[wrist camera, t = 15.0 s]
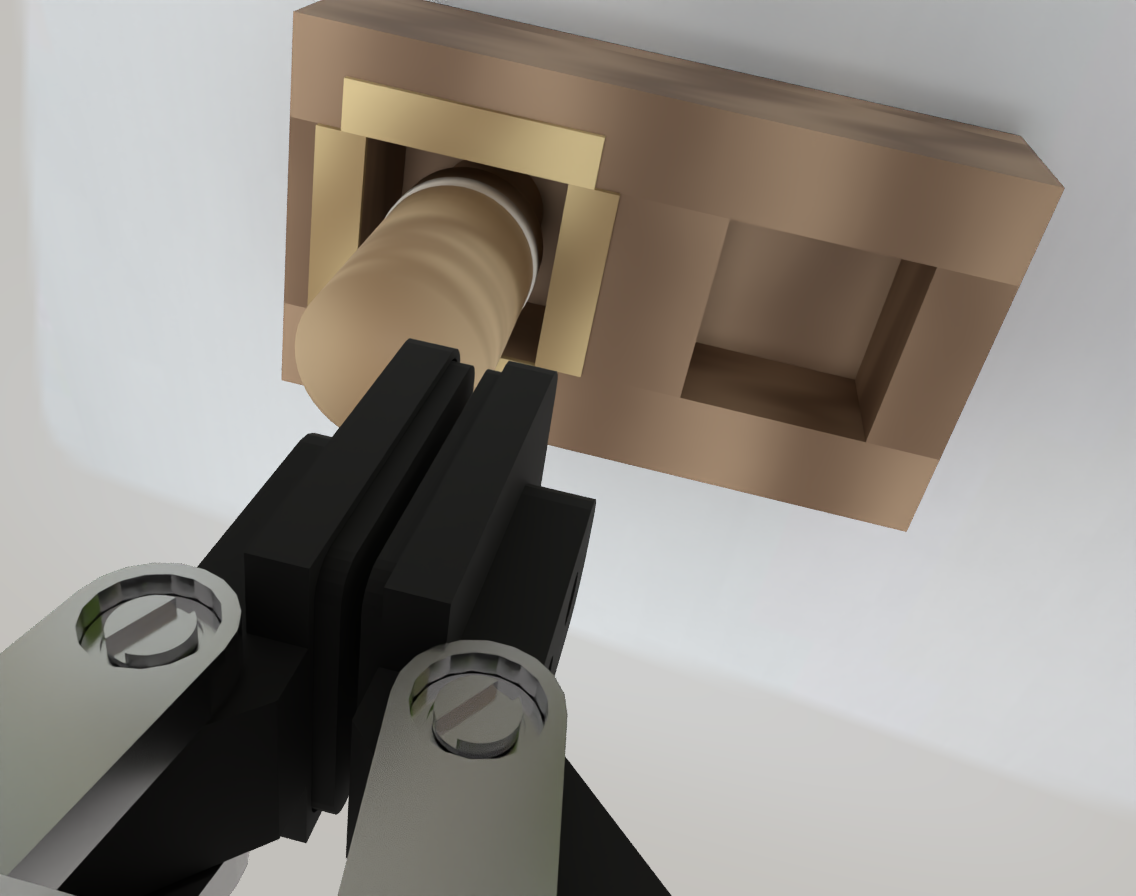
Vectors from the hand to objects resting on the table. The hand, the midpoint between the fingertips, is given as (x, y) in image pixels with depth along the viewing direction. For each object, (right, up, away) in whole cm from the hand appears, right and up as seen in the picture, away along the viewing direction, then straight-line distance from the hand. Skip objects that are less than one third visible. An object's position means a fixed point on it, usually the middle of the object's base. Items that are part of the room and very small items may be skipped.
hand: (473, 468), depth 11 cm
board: (+4, +7, +21) cm, 23 cm away
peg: (-1, +8, +21) cm, 22 cm away
